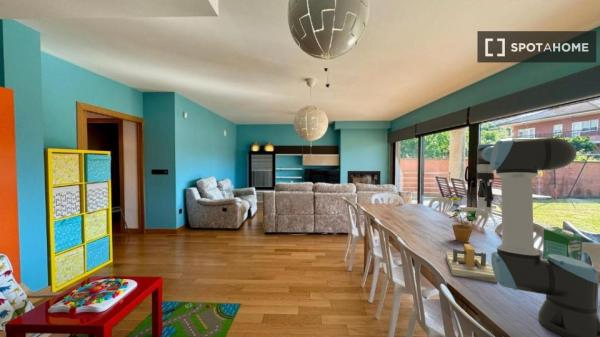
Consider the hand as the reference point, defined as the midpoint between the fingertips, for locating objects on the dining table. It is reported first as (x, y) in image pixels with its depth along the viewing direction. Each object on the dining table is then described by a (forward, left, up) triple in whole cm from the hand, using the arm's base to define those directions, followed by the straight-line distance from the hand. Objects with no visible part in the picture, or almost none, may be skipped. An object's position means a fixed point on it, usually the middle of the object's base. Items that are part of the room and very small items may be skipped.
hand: (484, 210), depth 138 cm
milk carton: (-15, -26, -29) cm, 42 cm away
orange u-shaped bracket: (-13, +9, -26) cm, 30 cm away
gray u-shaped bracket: (-13, +9, -29) cm, 33 cm away
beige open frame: (-13, +9, -29) cm, 33 cm away
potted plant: (+40, +4, -29) cm, 50 cm away
